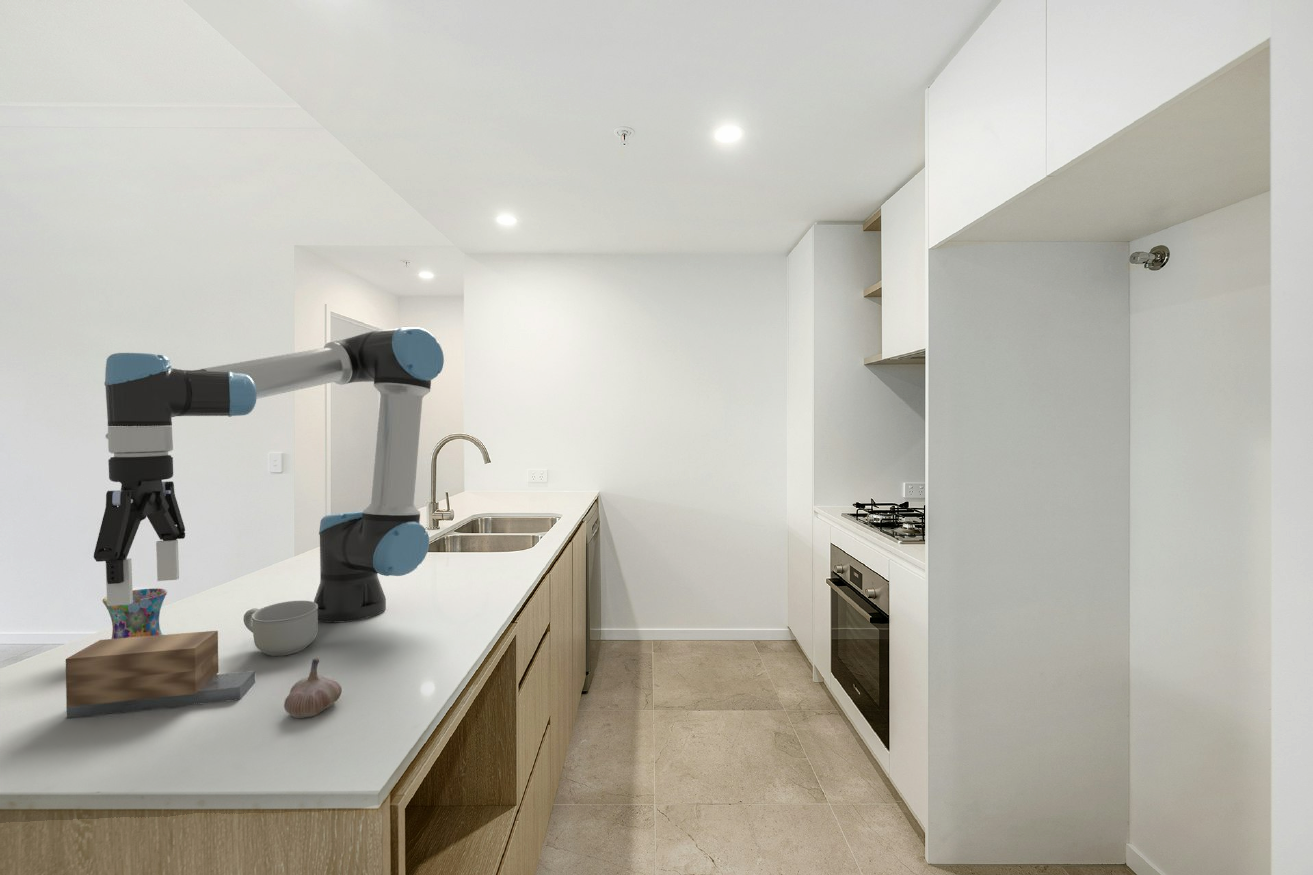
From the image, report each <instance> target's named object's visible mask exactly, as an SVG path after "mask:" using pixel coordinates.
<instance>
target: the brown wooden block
mask: <svg viewBox="0 0 1313 875" xmlns="http://www.w3.org/2000/svg"><path fill="white" fill-rule="evenodd" d="M218 673H219V631H218V630H210V631H209V630H207V631H196V632H195V631H194V632H185V633H183V632H182V633H171V634H162V635H156V636H143V637H130V638H118V639H111V638H108V639H107V638H106V639H99V640H97V641H95V642H94V643H92V644H89V646H87V647H85V648H83V649H81V650H79V651H78V652H76V653H74V654H72V655H70V656H68V657H67V658H65V689H66V690H65V696H66V700H65V701H66V703H65V704H66V706H67V707H70V706H80V705H89V704H99V703H109V702H119V701H128V700H138V699H148V698H158V697H167V696H177V695H187V694H196V693H197V692H198V691H199V690H200V689H201V688H202V687H203V686H204V685H205V684H207V683H208V682H209V681H210V680H211V679H212V678H213V677H214V676H215V675H216V674H218Z"/></svg>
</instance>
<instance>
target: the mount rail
mask: <svg viewBox="0 0 1313 875" xmlns="http://www.w3.org/2000/svg"><path fill="white" fill-rule="evenodd" d="M255 683H256V671H255V670H250V671H249V670H248V671H241V672H239V671H238V672H229V673H228V672H227V673H219V674H218V673H217V674H216V675H215V676H214V677H213V678H212V679H211V680H210V681H209V682H208V683H207V684H205V685H204V686H203V687H202V688H201V689H200V690H199V691H198V692H197V693H196V694H187V695H177V696H167V697H158V698H148V699H138V700H128V701H119V702H109V703H99V704H89V705H80V706H70V707H67V706H66V708H65V709H66V719H73V718H83V717H92V716H93V717H94V716H103V715H111V714H120V713H128V712H137V711H138V712H139V711H147V710H149V711H150V710H156V709H157V710H158V709H166V708H174V707H175V708H176V707H185V706H194V705H203V704H210V703H221V702H223V703H224V702H231V701H240V700H241V699H242V698H243V697H244V696H245V695H246V694H247V692H249V690H250V689H251V688H252V687H253V686H254V685H255Z"/></svg>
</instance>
